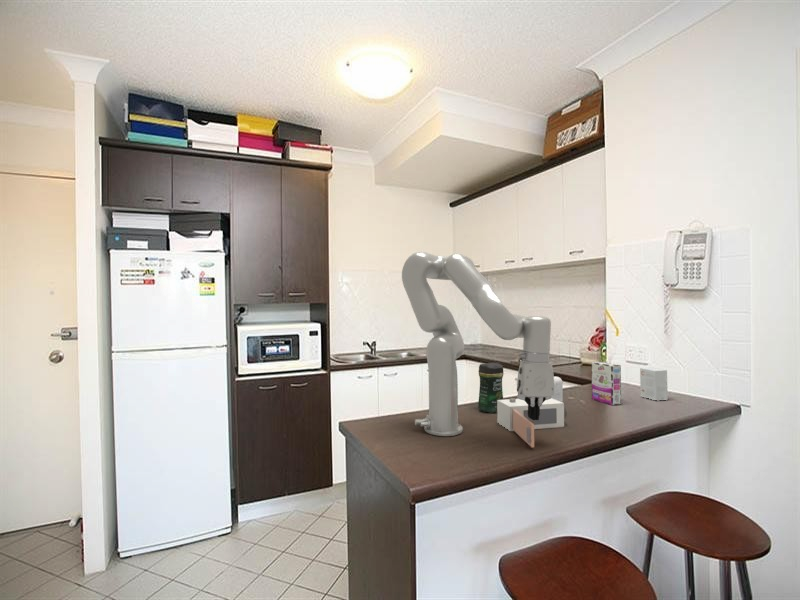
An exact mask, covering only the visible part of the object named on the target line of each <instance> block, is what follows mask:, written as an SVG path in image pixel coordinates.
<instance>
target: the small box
mask: <svg viewBox="0 0 800 600" xmlns="http://www.w3.org/2000/svg"><path fill="white" fill-rule="evenodd" d="M639 368H640V369H639V371H640V372H639V376H640V377H639V378H640V379H639V380H640V381H639V383H640V389H639V390H640V397H641V396H642V397H646V398H649V399H648V400H650V399H652V400H651V401H653V400H666V401H668V400H669V399H668V397H669V395H668V370H667V369H666V370H665V369H660V368H656V367H639ZM642 397H641V398H642ZM646 398H645V399H646Z"/></svg>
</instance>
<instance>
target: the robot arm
mask: <svg viewBox="0 0 800 600" xmlns="http://www.w3.org/2000/svg"><path fill="white" fill-rule="evenodd" d="M475 265H476V264H475V263H474V261H473V260H472V259H471V258H469V257H468V256H467V255H464V254H462V253H453V254H450V255H449V256H448V255H447V256H445V255H434V254H431V253H428V252H425V251H417V252H414V253H412V254H411V255H410V256H409V257H408V258H406V260H405V262H404V263H403V266H402V269H401V282H402V285H403V288H404V290H405V293H406V295H407V297H408V301H409V302H410V305H411V306H410V307H411V309H412V311H413V313H414V315H415V319H416V321H417V324H418V326H419V327H420V329H421V330H422V331H424V332H425V333H432V335H433V337H432V338H431V339H430V340H429V341H428V344H427V345H426V361H427V369H428V414H426V417H424V418H417V419H416V418H415V419H414V425H415V426H420V427H424V428H423V429H424V431H425V432H426V433H427V434H429V435H432V436H436V437H437V436H439V437H452V436H458V435H460V434H462V432H463V431H464V429H463V426H462V425H461V424H459V417H458V416H459V405H458V404H459V401H458V398H459V396H458V395H459V394H458V393H459V392H458V389H459V388H458V367H457V362H456V360H457V359H458V358H460V357H461V356H462V355H463V353H464V351H465V343H464V339H463V337H462V335H461V332H460V330H459V326H458V325H457V322H456V320H455V318H454V316H453V314H452V312H451V311H450V309H449V308H448V307H446V306H444V305H441V304H439V303H438V301H437V298H436V296H435V294H434V291H433V290H432V288H431V285H430V284H429V282H428V280H427V279H429V280H442V281H443V280H445V281H451V282H452V283H453V284H454V285H455V286H456V287H457V289H459V291H460V292H461V293H462V294H463V295H464V297H466V298H467V300H468V301H469V303H470V304H471V305H472V307H473V309H474V310H475V311H476V312H477V314H478V315H479V316H480V318H481V319H482V320H483V322H484V323H485V324H486V325H487V326H488V327H489V328H490V329H491V331H492V332H494V334H495V335H496V336H497V337H498V338H500V339H502V340H504V341H512V340H516V339H518V338H519V339H520V338H523V345H522V347H523V348H522V353H519V355H518V357H519V358H520V359H521V360H522V361H520V363H519V368H518V371H517V372H518V373H517V378H516V392H517V395H516V399H520V400H524V401H525V402H526V403H527V404H528V417H529V418H530V419H532V420H539V415H540V407H541V406H542V403H543V402H544V401H545V400H549V399H551V396H553V395H554V374H555V373H554V367H553V364H552V362H550V353H551V351H550V350H551V329H552V328H551V326H552V322H551V319H550V318H549V317H547V316H546V317H545V316H535V315H534V316H529V315H528V316H524V315H520V314H519V315H518V314H513V313H511V311H510V310H509V309H508V308H507V307H505V305H504V304H503V303H502V301H501V300H500V299H499V298H498V296H497V295H496V293H495V290H494V288H493V285H492V284H491V283H490V282H489V281H488V280H487V279H486V277H485V276H483V274H482V273H481V272H480V271H479V270H478V269H477V268H476V266H475Z"/></svg>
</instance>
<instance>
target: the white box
mask: <svg viewBox="0 0 800 600" xmlns="http://www.w3.org/2000/svg"><path fill="white" fill-rule="evenodd" d="M512 409H515V410H517V411H518V412H519V413H520V414H522V415H523V416H524V417H525V418H527V419H528V420H529V421H530V422H532V423H533V424H534V430H540V429H541V430H542V429H551V428H552V429H554V428H555V429H556V428H565V419H566V417H567V409H566V406H565V402H563V403H562V402H560V401H557V400H555V399H552V398H551V399H549V400H545V401H544V402H543V403H542V406H541V407H540V415H539V420H532V419H530V418H529V417H528V404H527V403H526V402H525V401H524V400H520V399H518V398H515V397H511V398H508V399H503V400H497V412H496V414H497V415H496V416H497V420H496V421H497V424H498V423H499V424H498V425H500V426H501V425H502V426H501V427H502V428H504V427H505V429H506V430H507V429H508V430H507V431H508V432H515V431H514V430H513V429H512Z"/></svg>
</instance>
